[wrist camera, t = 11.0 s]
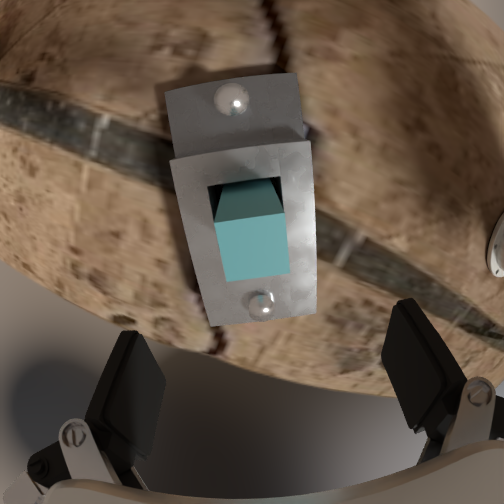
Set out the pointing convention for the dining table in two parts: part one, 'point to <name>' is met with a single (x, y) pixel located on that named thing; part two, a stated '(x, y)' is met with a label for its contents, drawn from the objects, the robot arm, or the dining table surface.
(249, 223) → the pin
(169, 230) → the dining table surface
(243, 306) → the grey slotted base
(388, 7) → the dining table surface
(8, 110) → the dining table surface
